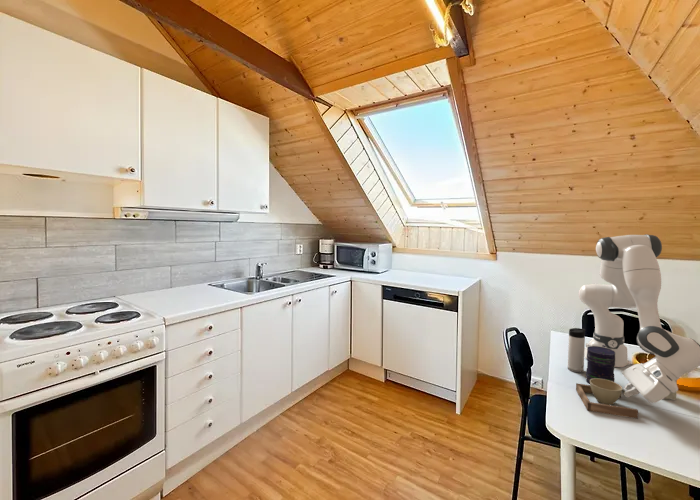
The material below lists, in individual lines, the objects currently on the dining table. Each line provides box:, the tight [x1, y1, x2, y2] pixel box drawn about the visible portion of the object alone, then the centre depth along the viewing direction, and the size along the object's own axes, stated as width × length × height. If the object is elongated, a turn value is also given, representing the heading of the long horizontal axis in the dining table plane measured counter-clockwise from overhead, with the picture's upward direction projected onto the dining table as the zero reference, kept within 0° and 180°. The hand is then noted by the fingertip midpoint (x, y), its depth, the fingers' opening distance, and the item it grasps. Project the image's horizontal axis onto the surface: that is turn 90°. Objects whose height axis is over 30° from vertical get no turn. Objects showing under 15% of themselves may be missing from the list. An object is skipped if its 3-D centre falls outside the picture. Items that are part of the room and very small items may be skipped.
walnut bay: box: [575, 382, 639, 420], centre depth 127 cm, size 16×15×3 cm
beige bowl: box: [589, 378, 623, 406], centre depth 128 cm, size 10×10×7 cm
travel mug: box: [567, 327, 587, 373], centre depth 155 cm, size 6×7×20 cm
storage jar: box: [585, 345, 616, 385], centre depth 141 cm, size 10×10×18 cm
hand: (623, 394), depth 124 cm, fingers closed
